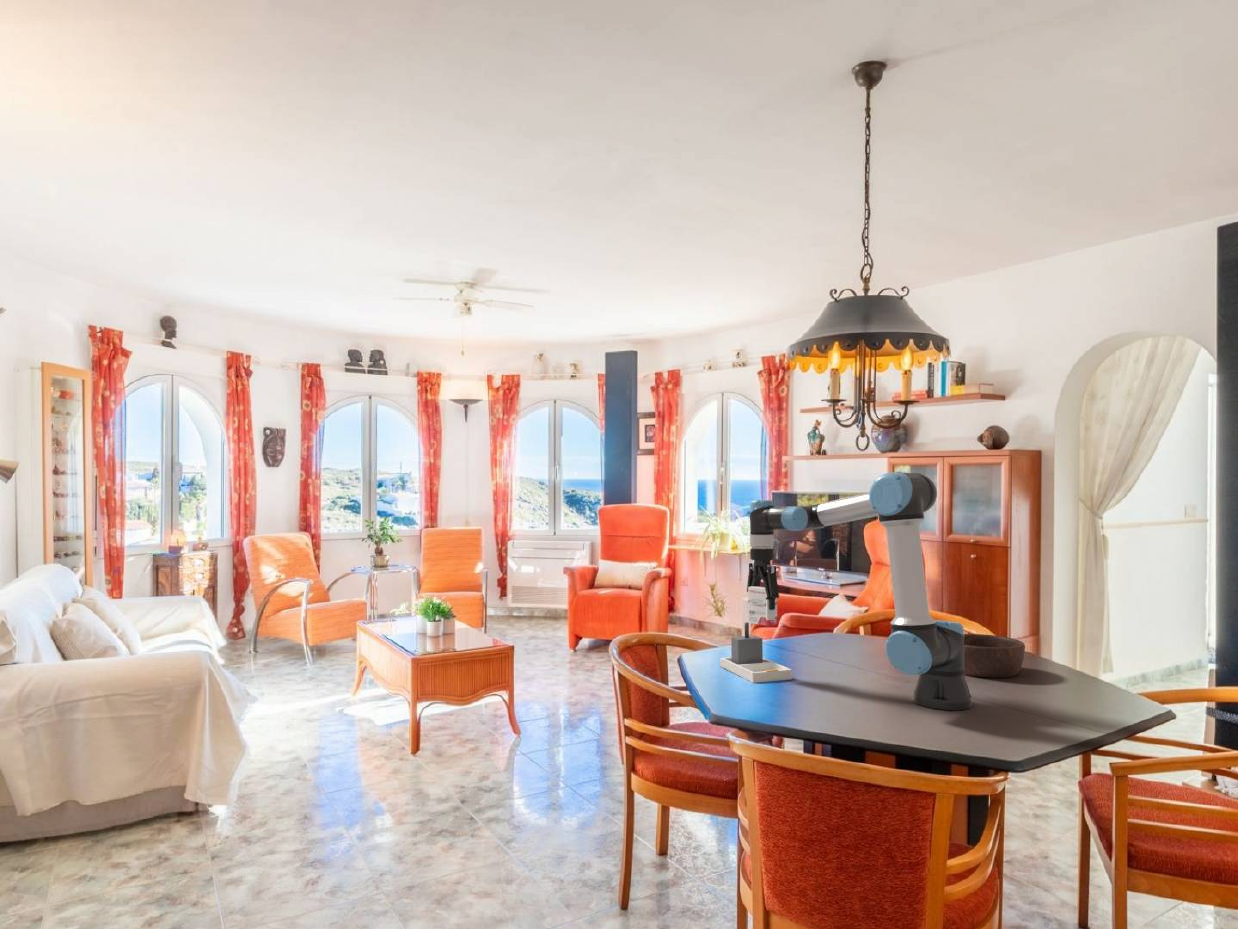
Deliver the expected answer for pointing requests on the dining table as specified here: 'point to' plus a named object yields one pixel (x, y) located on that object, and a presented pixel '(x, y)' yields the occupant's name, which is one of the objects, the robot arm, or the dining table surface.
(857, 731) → the dining table surface
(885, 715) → the dining table surface
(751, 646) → the grey block with handle
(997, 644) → the wooden bowl
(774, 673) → the tray
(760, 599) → the ink box
